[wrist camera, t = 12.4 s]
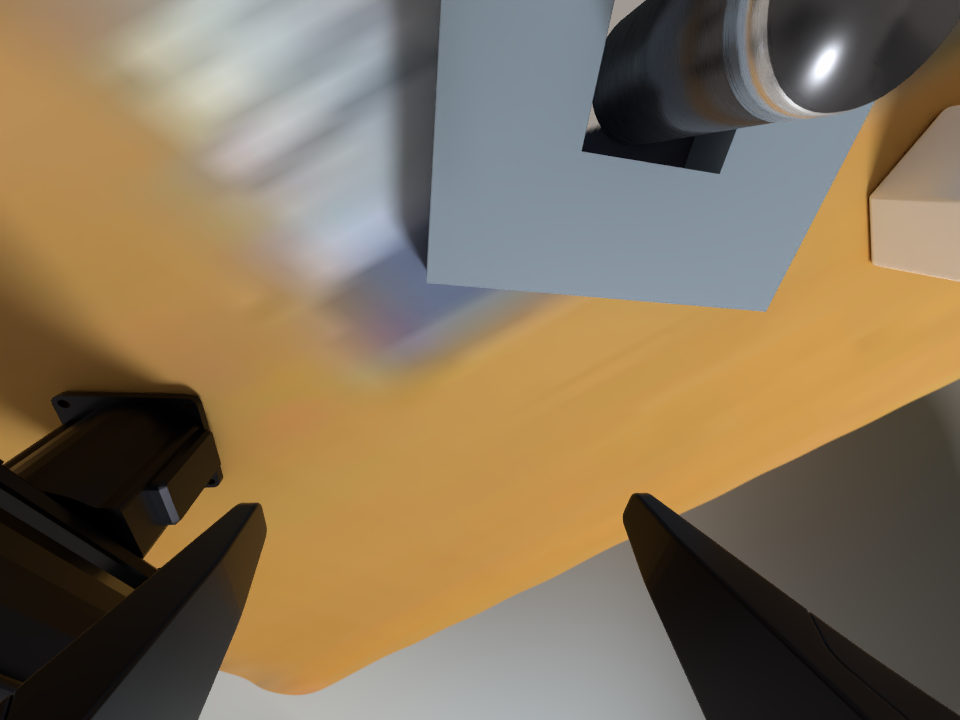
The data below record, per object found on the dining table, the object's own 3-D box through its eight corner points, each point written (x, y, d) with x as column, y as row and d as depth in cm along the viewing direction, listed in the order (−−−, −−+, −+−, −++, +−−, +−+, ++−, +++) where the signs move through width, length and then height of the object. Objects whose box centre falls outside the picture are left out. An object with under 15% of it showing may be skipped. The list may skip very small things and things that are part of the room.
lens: (578, 137, 16) (733, 94, 8) (609, -9, 13) (868, -278, 6) (673, 154, 17) (899, 129, 9) (716, 18, 14) (1071, -179, 6)
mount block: (426, 269, 17) (426, 283, 15) (460, -390, 9) (471, -563, 7) (729, 297, 21) (765, 311, 18) (947, -177, 13) (1057, -253, 10)
